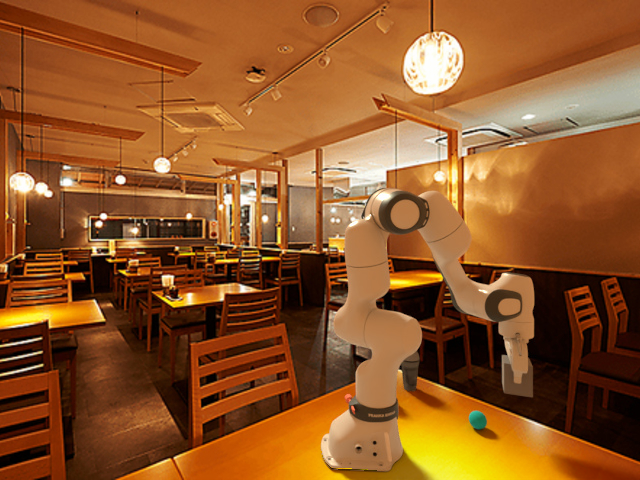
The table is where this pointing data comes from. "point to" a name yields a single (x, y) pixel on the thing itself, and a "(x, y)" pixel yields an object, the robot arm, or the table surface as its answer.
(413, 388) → the beverage cup
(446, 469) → the table surface
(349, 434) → the robot arm
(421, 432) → the table surface
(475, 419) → the ball
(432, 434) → the table surface
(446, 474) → the table surface
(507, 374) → the matte grey cube
